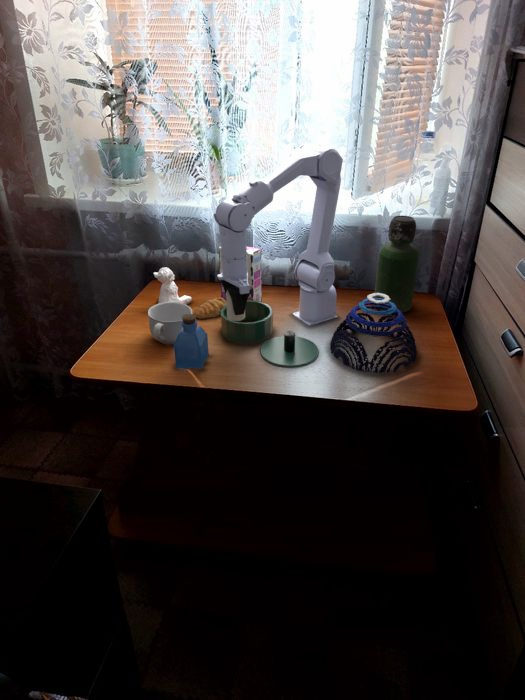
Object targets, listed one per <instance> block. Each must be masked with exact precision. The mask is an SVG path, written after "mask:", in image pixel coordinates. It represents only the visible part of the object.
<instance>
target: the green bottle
mask: <svg viewBox="0 0 525 700" xmlns="http://www.w3.org/2000/svg"><path fill="white" fill-rule="evenodd" d="M416 232H417V222H416V220H415V218H414V217H412V216H409V215H395V216H393V218H392V219H391V221H390V223H389V226H388V235H387V236H388V240H389V242H386V243H385V244H384V245H382V246H381V247H380V249H379V252H378V259H377V268H376V277H375V286H374V293H381V294H385V295H387V296H389V298H390V299H391V300H389V301H390V302H392V303H394V304H395V305H396V308H397V309H398V310H400V312H401V313H402V314H404V313H406V312H408V311H410V310H411V309H412V307H413V301H414V294H415V286H416V282H417V281H416V280H417V273H418V267H419V259H420V251H419V249H418V248H417V246H416V245H414V244H412V243H413V242H414V239H415V235H416ZM373 298H383V297H380V296H375V297H373ZM383 299H385V298H383ZM385 304H388V303H387V302H386V303H385ZM389 305H390V304H389ZM373 306H377V305H373ZM378 306H381V305H378ZM382 307H385V308H390V307H387V306H382ZM378 311H386V310H381V309H378Z"/></svg>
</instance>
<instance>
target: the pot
mask: <svg viewBox="0 0 525 700" xmlns="http://www.w3.org/2000/svg"><path fill="white" fill-rule="evenodd" d="M245 316H246V317H245V319H243V320H242V321H231V320H229V319H228V318H227V305H226V306H224V307H223V309H222V310H221V315H220V323H221V324H220V325H221V334H222V336H223V337H224V338H225V339H226V340H227V341H230V342H233V343H238V344H255V343H260V342H262V341H265V340H267V339H268V338H270V337H271V336H272V334H273V332H274V311H273V308H272V307H271V306H270V305H269V304H267V303H266V302H263V301H262V302H259V301H252V300H247V303H246V307H245ZM243 321H249V322H243Z"/></svg>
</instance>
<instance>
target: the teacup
mask: <svg viewBox="0 0 525 700" xmlns="http://www.w3.org/2000/svg"><path fill="white" fill-rule="evenodd" d="M185 314H193V309H192V308H191V306H189V305H188V304H187V305H185V304H182V303H177V302H164V303H159V304H158V303H156V304H154V305H152V306H150V307H149V309H148V310H147V316H148V327H149V332H150V334H151V336H152V337H153V339H155V340H156V341H157V342H159V343H162V344H164V345H174V343H175V341H176V339H177V336H178V334H179V332H180V331H181V329H182V328H183V327H182V323H181V322H182V321H183V320H182V316H183V315H185Z"/></svg>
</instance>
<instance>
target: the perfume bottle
mask: <svg viewBox="0 0 525 700" xmlns="http://www.w3.org/2000/svg"><path fill="white" fill-rule="evenodd" d="M182 320H183V321H182V322H181V323H182V327H183V328H182V329H181V331H180V332H179V334H178V336H177V339H176V341H175V343H174V344H173V354H174V362H175V363H174V364H175V369H178V370H179V369H180V370H189V371H190V370H191V369H201V370H202V369H203V368H204V365H205V363H206V361H207V359H208V357H209V355H210V352H209V337H208V335H209V334H208V333H207V331H205V330H204V328H203V327H202V326H201V325H198V321H197V317H196V315H194V313H192V314H185V315H183V316H182Z"/></svg>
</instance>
